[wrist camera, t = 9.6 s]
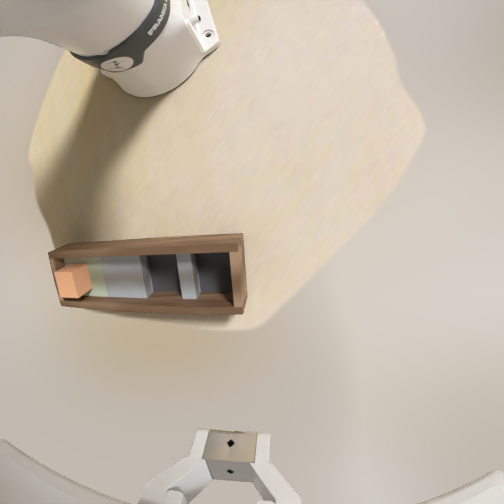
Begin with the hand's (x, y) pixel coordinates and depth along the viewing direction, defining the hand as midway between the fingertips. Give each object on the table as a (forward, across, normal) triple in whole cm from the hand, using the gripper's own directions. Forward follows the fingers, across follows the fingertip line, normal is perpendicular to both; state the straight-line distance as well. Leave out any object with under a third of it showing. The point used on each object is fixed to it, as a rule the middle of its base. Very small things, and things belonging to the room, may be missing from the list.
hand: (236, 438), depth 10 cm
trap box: (+29, +18, +2) cm, 34 cm away
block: (+26, +29, +2) cm, 39 cm away
